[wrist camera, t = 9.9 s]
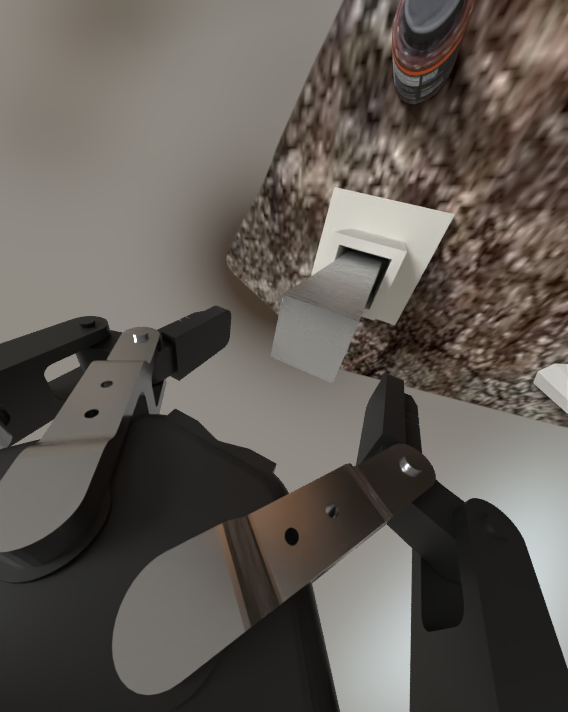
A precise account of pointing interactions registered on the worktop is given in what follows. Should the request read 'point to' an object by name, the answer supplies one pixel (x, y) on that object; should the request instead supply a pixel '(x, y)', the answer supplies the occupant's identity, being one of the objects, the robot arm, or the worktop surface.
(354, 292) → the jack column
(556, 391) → the pepper shaker
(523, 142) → the worktop surface
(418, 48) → the supplement bottle
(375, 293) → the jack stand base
